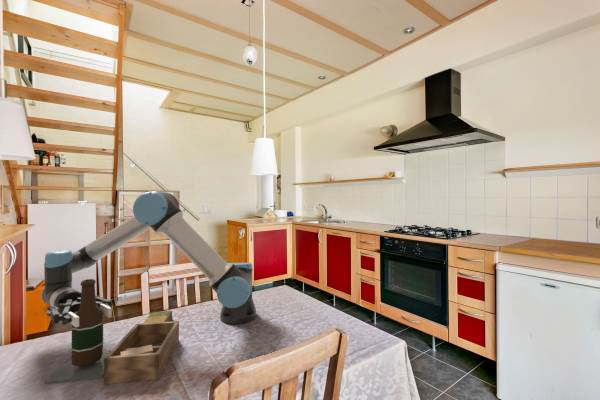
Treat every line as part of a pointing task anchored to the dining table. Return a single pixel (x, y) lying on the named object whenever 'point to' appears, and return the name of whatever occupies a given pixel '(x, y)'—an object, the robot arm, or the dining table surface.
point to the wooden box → (142, 364)
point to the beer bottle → (87, 328)
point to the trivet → (79, 371)
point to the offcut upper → (138, 350)
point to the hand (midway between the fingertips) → (94, 317)
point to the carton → (159, 317)
